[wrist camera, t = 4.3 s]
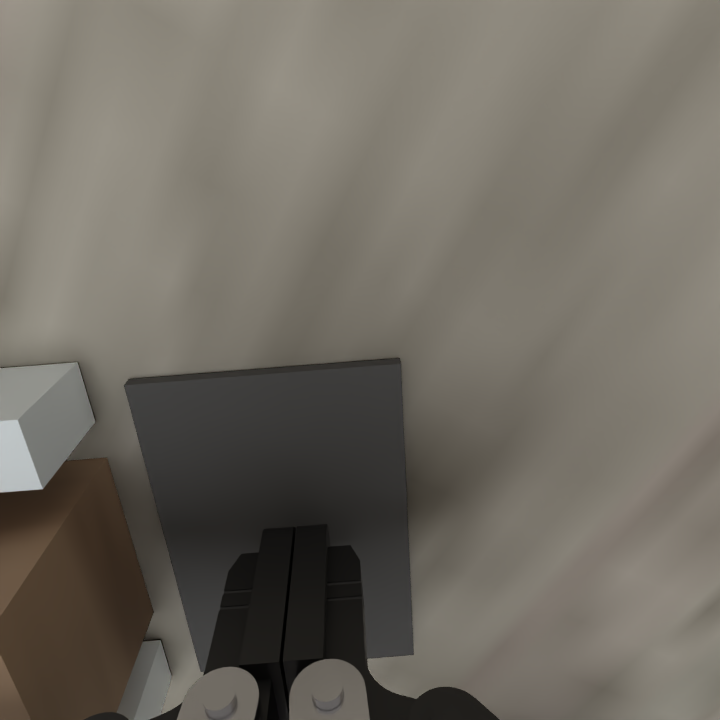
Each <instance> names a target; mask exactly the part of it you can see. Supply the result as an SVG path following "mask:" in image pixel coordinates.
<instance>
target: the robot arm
mask: <svg viewBox="0 0 720 720" xmlns="http://www.w3.org/2000/svg"><path fill="white" fill-rule="evenodd" d="M84 720H129V719H128V718H126V717H125V716H124V715H122V714H119V713H115V712H104V713H99V714H96V715H93V716H90V717H88V718H86V719H84ZM149 720H499V719H498V718H497V717H496V716H495V715H494V714H493V713H491V712H490V711H489V710H488V709H487V708H486V707H485V706H484V705H482V704H481V703H480V702H479V701H478V700H477V699H476V698H474V697H473V696H472V695H470V694H469V693H467V692H465V691H463V690H460V689H458V688H453V687H438V688H434V689H431V690H429V691H427V692H425V693H424V694H422V695H421V696H420V697H419V698H418V699H414V698H410V697H406V696H402V695H398V694H395V693H392V692H390V691H388V690H386V689H385V688H383V687H382V686H381V685H379V684H378V683H377V682H376V681H375V680H374V678H373V677H372V676H371V674H370V672H369V670H368V664H367V647H366V627H365V609H364V597H363V586H362V574H361V563H360V559H359V558H358V556H357V555H356V553H355V551H354V550H353V548H352V547H351V545H344V546H331V547H330V538H329V529H328V524H319V525H306V526H297V527H296V528H295V527H283V528H270V529H264V530H263V532H262V537H261V543H260V549H259V552H256V553H244V554H241V555H240V556H239V558H238V559H237V560H236V562H235V563H234V564H233V566H232V567H231V568H230V570H229V571H228V575H227V579H226V583H225V588H224V594H223V596H222V600H221V604H220V611H219V613H218V617H217V621H216V625H215V630H214V634H213V638H212V642H211V646H210V651H209V655H208V659H207V663H206V668H205V671H204V674H203V676H202V677H201V678H200V679H198V680H197V681H196V682H195V683H194V684H193V685H192V687H191V688H190V689H189V691H188V692H187V694H186V696H185V698H184V700H183V702H182V703H181V704H180V705H178V706H177V707H175V708H174V709H172V710H170V711H168V712H166V713H164V714H162V715H159V716H157V717H154V718H151V719H149Z"/></svg>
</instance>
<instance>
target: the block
mask: <svg viewBox="0 0 720 720" xmlns="http://www.w3.org/2000/svg"><path fill="white" fill-rule="evenodd" d="M152 615H153V609H152V605H151V602H150V599H149V595H148V592H147V589H146V585H145V582H144V579H143V575H142V572H141V569H140V566H139V562H138V559H137V556H136V552H135V549H134V546H133V542H132V539H131V536H130V532H129V529H128V526H127V522H126V519H125V516H124V513H123V509H122V506H121V503H120V499H119V496H118V493H117V489H116V486H115V483H114V479H113V476H112V473H111V469H110V466H109V463H108V459H107V458H95V459H82V460H70V461H65V462H64V463H63V464H62V465H61V467H60V468H59V469H58V470H57V472H56V473H55V474H54V476H53V477H52V478H51V479H50V481H49V482H48V483H47V484H46V486H45V487H44V488H43V489H39V490H27V491H14V492H1V493H0V720H84V719H86V718H88V717H90V716H93V715H96V714H99V713H104V712H115V713H117V710H118V707H119V705H120V702H121V699H122V696H123V694H124V691H125V688H126V686H127V683H128V680H129V677H130V675H131V672H132V669H133V667H134V664H135V661H136V659H137V656H138V653H139V650H140V648H141V645H142V642H143V640H144V637H145V634H146V631H147V629H148V626H149V623H150V621H151V618H152Z"/></svg>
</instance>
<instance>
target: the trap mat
mask: <svg viewBox="0 0 720 720" xmlns="http://www.w3.org/2000/svg"><path fill="white" fill-rule="evenodd" d="M124 387H125V391H126V394H127V398H128V402H129V406H130V409H131V413H132V417H133V420H134V424H135V428H136V432H137V435H138V439H139V443H140V447H141V450H142V454H143V458H144V462H145V465H146V469H147V473H148V477H149V480H150V484H151V488H152V491H153V495H154V499H155V503H156V506H157V510H158V514H159V518H160V521H161V525H162V529H163V533H164V536H165V540H166V544H167V548H168V551H169V555H170V559H171V563H172V566H173V570H174V574H175V577H176V581H177V585H178V589H179V592H180V596H181V600H182V604H183V607H184V611H185V615H186V619H187V622H188V626H189V630H190V634H191V637H192V641H193V645H194V649H195V652H196V656H197V660H198V663H199V667H200V671H201V672H204V671H205V668H206V663H207V659H208V655H209V651H210V646H211V642H212V638H213V634H214V630H215V625H216V621H217V617H218V613H219V611H220V604H221V600H222V596H223V594H224V588H225V583H226V579H227V575H228V571H229V570H230V568H231V567H232V566H233V564H234V563H235V562H236V560H237V559H238V558H239V556H240V555H241V554H244V553H256V552H259V549H260V543H261V537H262V532H263V530H264V529H270V528H283V527H295V528H296V527H297V526H306V525H319V524H328V529H329V538H330V547H331V546H344V545H351V547H352V548H353V550H354V551H355V553H356V555H357V556H358V558H359V559H360V563H361V574H362V586H363V597H364V609H365V627H366V647H367V659H368V658H380V657H393V656H406V655H414V650H413V628H412V605H411V583H410V560H409V538H408V516H407V493H406V471H405V448H404V426H403V404H402V381H401V363H400V359H399V358H396V359H383V360H370V361H358V362H345V363H332V364H319V365H306V366H293V367H281V368H268V369H255V370H242V371H229V372H216V373H204V374H191V375H178V376H165V377H152V378H140V379H129V380H128V381H127V382H126V384H125V385H124Z"/></svg>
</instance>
